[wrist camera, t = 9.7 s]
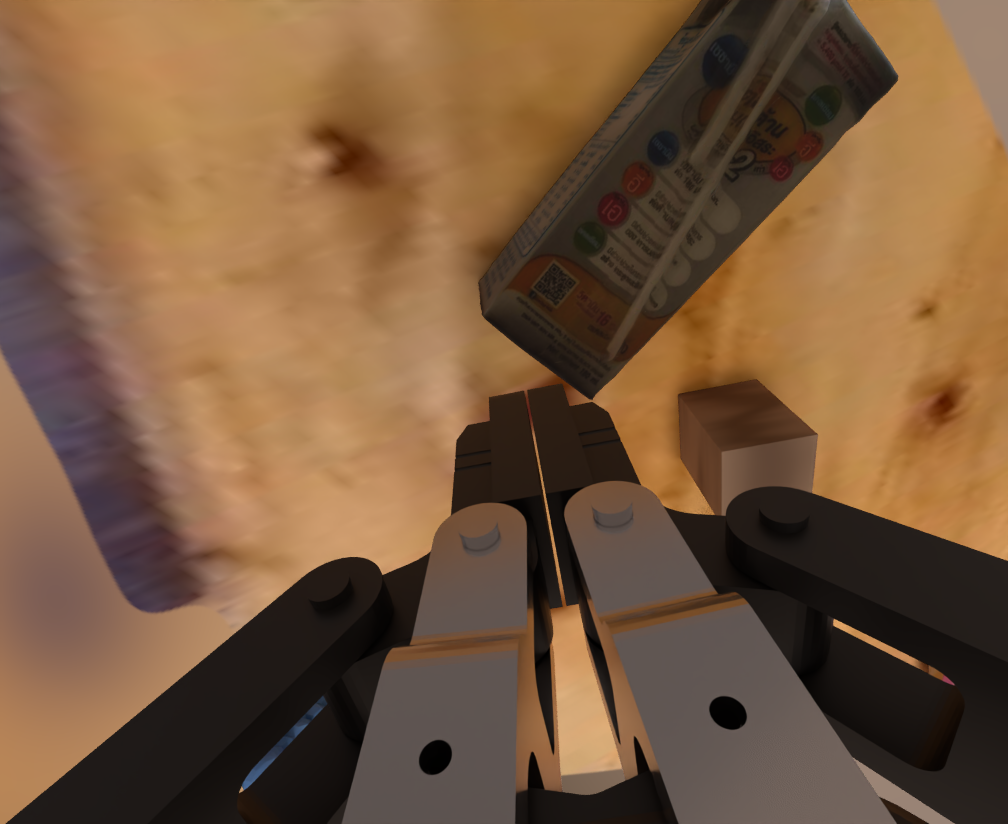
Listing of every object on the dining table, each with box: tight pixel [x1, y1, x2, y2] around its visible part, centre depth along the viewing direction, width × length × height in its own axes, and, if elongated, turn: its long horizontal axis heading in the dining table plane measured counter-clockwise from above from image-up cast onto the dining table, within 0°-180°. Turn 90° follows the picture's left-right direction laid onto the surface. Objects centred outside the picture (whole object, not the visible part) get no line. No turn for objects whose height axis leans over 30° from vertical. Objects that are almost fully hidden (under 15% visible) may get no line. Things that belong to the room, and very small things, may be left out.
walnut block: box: [678, 379, 818, 516], centre depth 33 cm, size 5×5×7 cm
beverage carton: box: [478, 0, 898, 400], centre depth 26 cm, size 8×19×7 cm, turn 141°
